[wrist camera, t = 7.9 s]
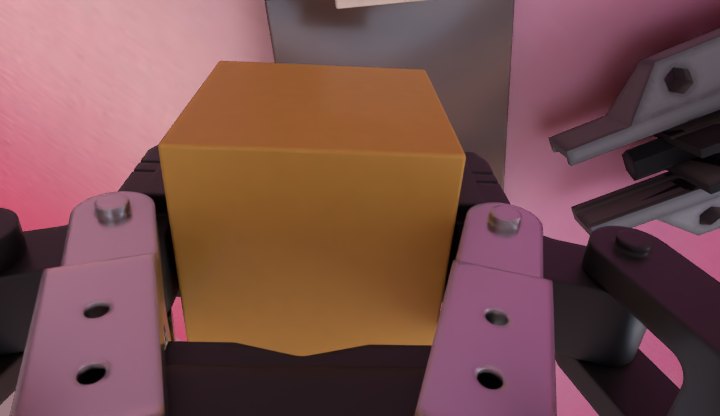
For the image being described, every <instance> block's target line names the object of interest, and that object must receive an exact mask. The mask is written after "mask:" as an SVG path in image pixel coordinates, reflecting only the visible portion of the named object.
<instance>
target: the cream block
mask: <svg viewBox="0 0 720 416" xmlns="http://www.w3.org/2000/svg"><path fill="white" fill-rule="evenodd" d="M414 1H424V0H335V4H336V8H338V9H341V8H352V7H362V6H372V5H383V4H393V3H403V2H414Z"/></svg>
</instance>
